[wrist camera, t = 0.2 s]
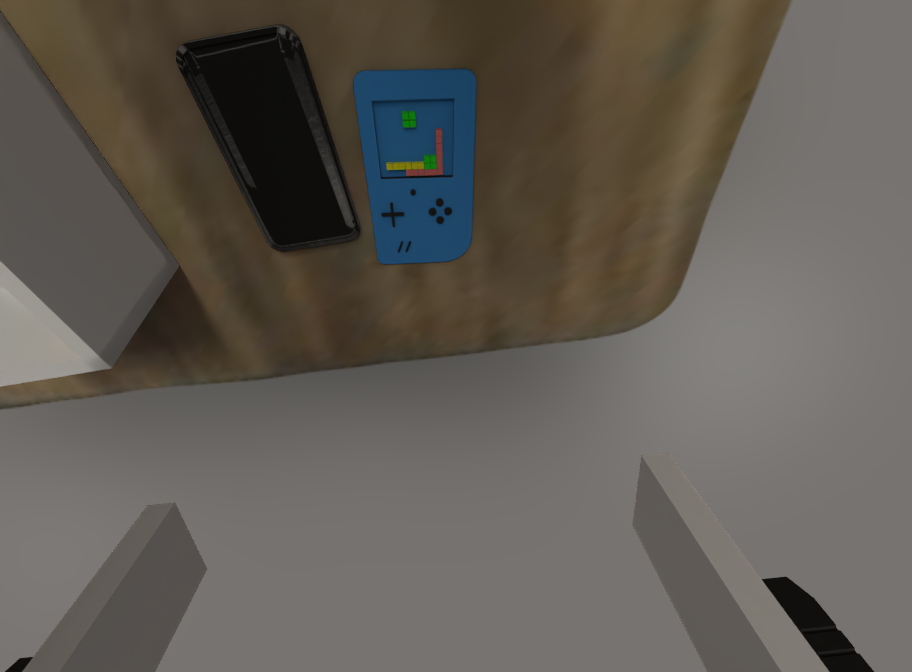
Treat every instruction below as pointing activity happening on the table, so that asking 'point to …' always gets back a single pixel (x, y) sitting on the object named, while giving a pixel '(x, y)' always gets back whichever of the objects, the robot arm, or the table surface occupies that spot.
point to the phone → (272, 134)
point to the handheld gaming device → (418, 160)
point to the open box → (64, 236)
